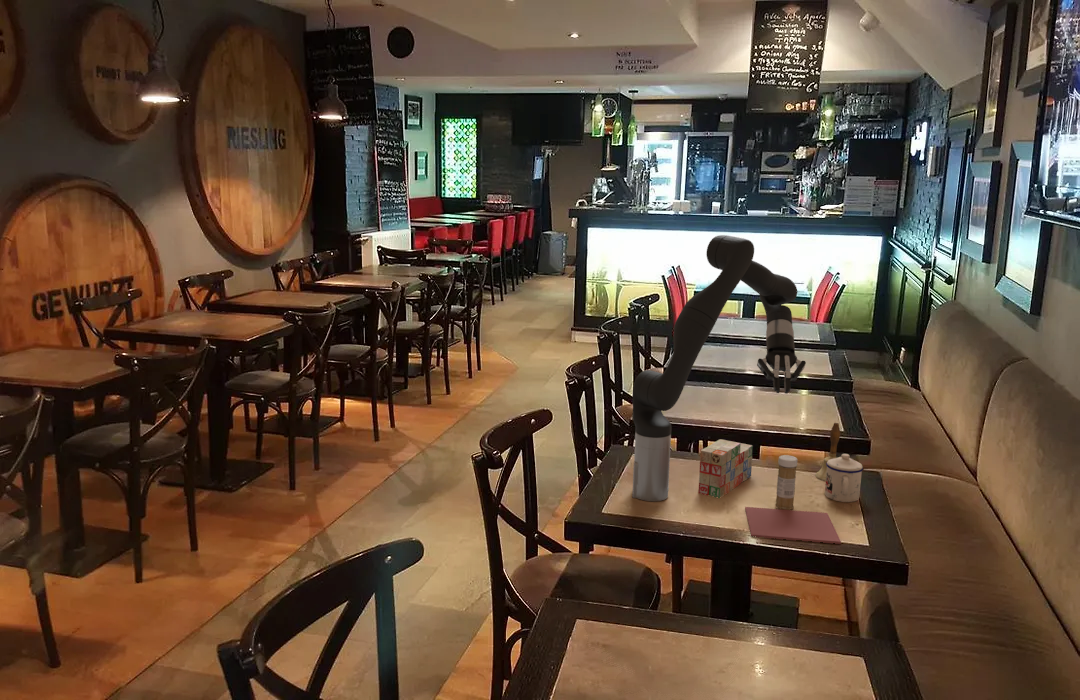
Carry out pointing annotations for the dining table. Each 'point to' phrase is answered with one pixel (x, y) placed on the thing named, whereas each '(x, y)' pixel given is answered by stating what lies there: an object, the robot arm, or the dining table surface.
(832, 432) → the hand bell
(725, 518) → the dining table surface
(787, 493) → the sprinkles bottle
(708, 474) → the stack of blocks
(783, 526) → the mat
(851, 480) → the teacup with lid
